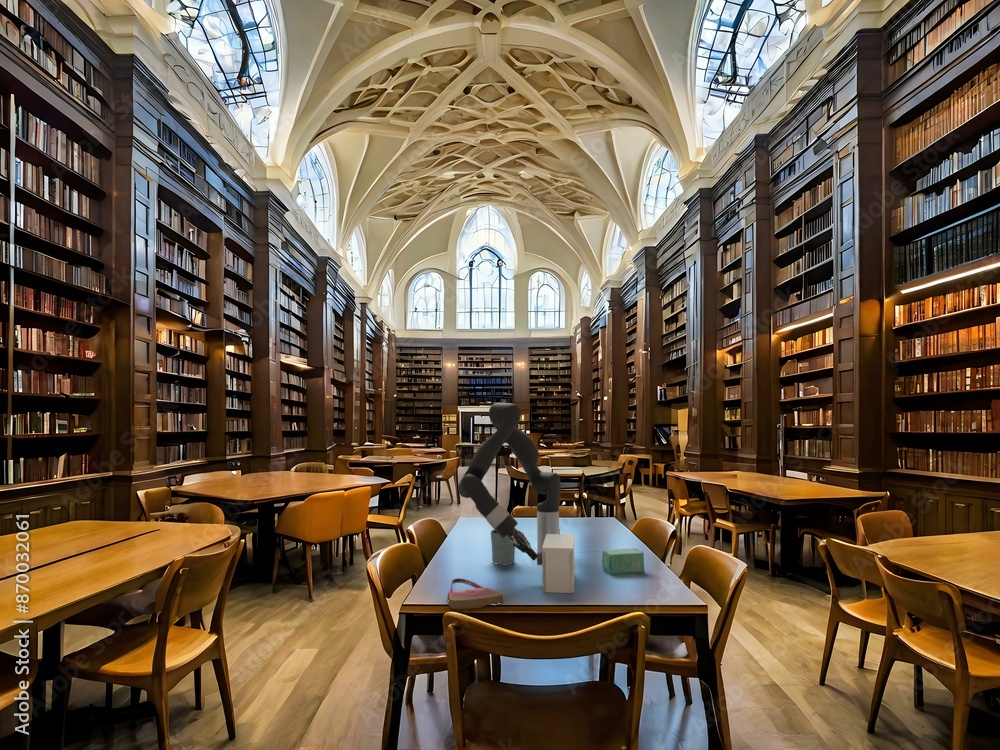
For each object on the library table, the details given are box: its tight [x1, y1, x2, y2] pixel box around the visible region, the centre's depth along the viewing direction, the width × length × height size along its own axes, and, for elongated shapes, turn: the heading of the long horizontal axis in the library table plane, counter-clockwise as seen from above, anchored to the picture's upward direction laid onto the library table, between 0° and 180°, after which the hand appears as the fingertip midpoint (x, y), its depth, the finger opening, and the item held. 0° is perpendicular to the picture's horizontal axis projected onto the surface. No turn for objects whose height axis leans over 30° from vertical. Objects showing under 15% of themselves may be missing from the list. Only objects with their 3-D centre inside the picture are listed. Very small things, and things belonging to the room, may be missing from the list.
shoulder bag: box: [447, 578, 504, 610], centre depth 178 cm, size 17×3×28 cm
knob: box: [536, 551, 542, 566], centre depth 190 cm, size 5×8×5 cm, turn 81°
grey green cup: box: [490, 529, 516, 565], centre depth 217 cm, size 10×10×12 cm
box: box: [601, 547, 645, 576], centre depth 204 cm, size 7×14×8 cm, turn 101°
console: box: [541, 533, 576, 594], centre depth 190 cm, size 22×10×14 cm, turn 172°
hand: (536, 558), depth 191 cm, fingers closed
